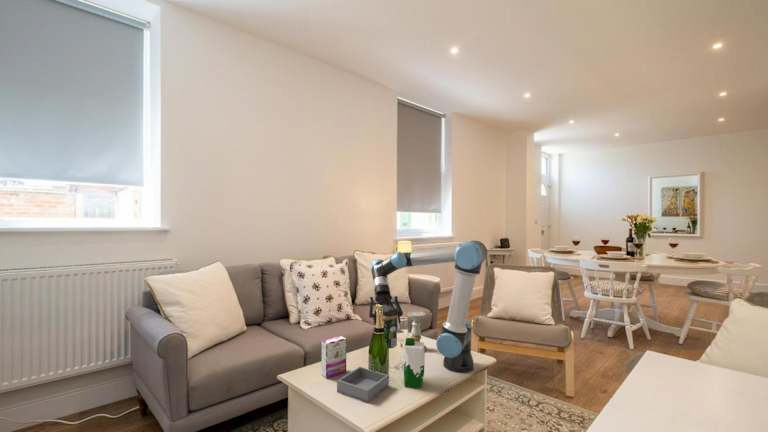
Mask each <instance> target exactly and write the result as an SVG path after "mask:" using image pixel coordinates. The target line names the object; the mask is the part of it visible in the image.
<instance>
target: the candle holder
mask: <svg viewBox="0 0 768 432" xmlns="http://www.w3.org/2000/svg"><path fill="white" fill-rule="evenodd" d="M406 315H407V316H408V317H409V318H412V322H411V325H412V328H411V335H410V338H413V339H414V341H415V342H421V339H422V336H421V334H422V331H421V327H420V326H421V325H422V324H421V322H420V320H421V319H423V318H425V317H427V313H425V312H423V311H420V310H419V311H417V310H412V311H408V312H407V314H406ZM427 349H428V348H427V346H426V345H425V344H424V351H425V352H427Z"/></svg>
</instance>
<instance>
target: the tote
mask: <svg viewBox="0 0 768 432" xmlns="http://www.w3.org/2000/svg"><path fill="white" fill-rule="evenodd" d="M374 371H375V370H373V371H372V369H369V368H365V367H361V366H359V367H357V368H355V369H354V370H352V371H350V372H349V373H347V374H345V375H343V376H342V377H340V378H339V379H338V380H336V393H338V394H341V395H344V396H347V397H350V398H353V399H355V400H358V401H361V402H363V403H366V404H368V403H370V402H371V401H372V400H373V399H374V398H376V397H377V396H379V394H381V393H383V391H385V390H387V388H389V385H390V382H389V381H390V376H389V374H385V373H382V372H380V371H376V372H374Z"/></svg>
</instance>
